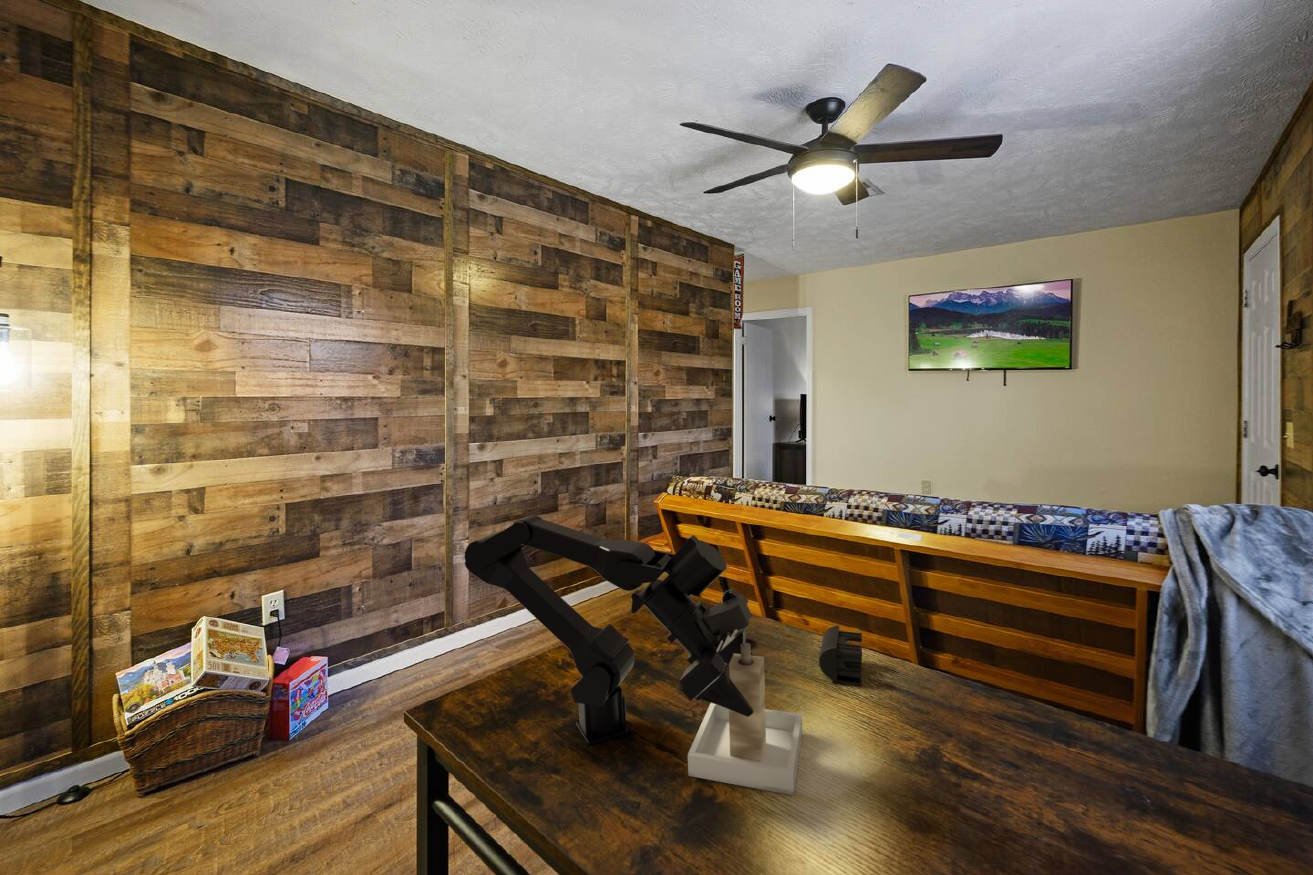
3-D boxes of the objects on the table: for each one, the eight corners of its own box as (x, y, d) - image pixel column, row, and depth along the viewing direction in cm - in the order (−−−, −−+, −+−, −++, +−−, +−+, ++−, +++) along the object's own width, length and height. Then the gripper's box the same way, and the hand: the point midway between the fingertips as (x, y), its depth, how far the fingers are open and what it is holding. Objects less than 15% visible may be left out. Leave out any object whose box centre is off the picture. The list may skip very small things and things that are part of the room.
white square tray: (688, 775, 78) (687, 754, 78) (711, 719, 91) (711, 701, 91) (793, 795, 73) (792, 773, 73) (802, 733, 87) (801, 714, 86)
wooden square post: (730, 755, 81) (727, 649, 80) (736, 737, 85) (733, 636, 84) (761, 761, 79) (758, 653, 78) (766, 742, 84) (763, 640, 82)
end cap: (823, 657, 111) (822, 623, 110) (862, 662, 108) (861, 627, 108) (818, 682, 102) (818, 645, 101) (861, 688, 99) (860, 650, 99)
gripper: (700, 602, 73) (790, 697, 70) (729, 560, 90) (802, 635, 88) (644, 654, 76) (728, 748, 73) (683, 604, 94) (752, 678, 91)
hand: (756, 696), depth 81 cm, fingers open, 9 cm apart
